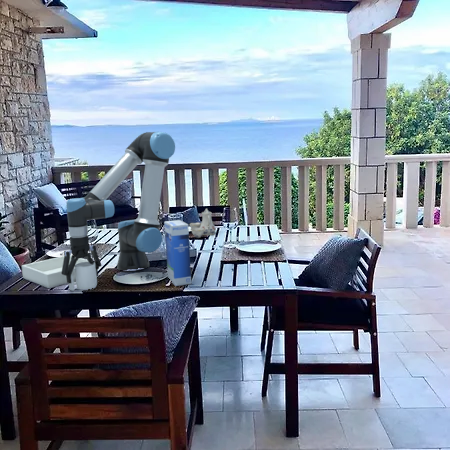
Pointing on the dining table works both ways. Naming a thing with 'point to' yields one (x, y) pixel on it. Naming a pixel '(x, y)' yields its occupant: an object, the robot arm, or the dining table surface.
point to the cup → (85, 275)
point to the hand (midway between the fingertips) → (83, 286)
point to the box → (48, 272)
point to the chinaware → (203, 225)
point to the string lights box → (178, 252)
